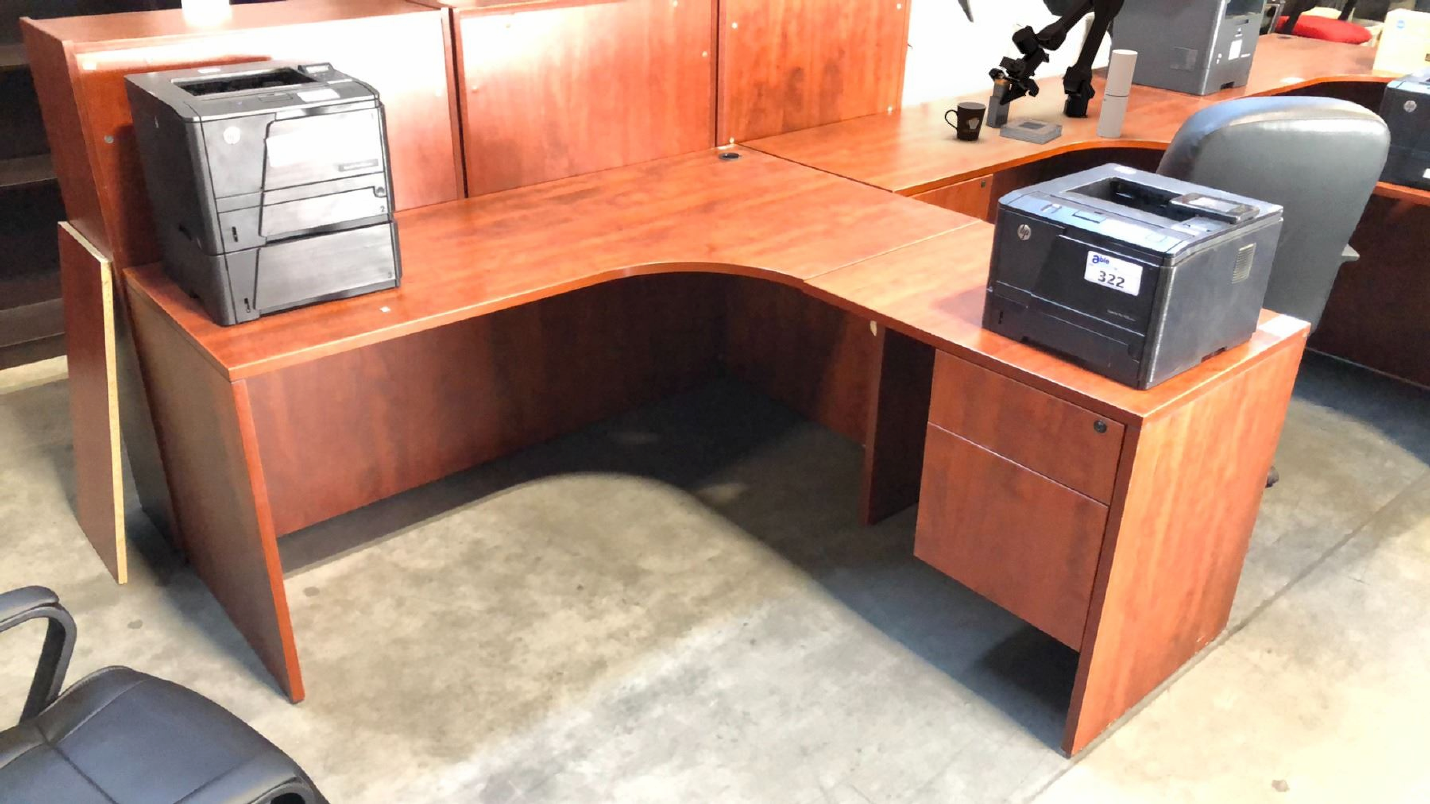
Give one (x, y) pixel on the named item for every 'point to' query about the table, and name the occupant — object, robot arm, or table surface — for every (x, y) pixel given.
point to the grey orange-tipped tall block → (998, 104)
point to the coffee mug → (968, 120)
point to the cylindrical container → (1116, 93)
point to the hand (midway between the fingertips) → (996, 103)
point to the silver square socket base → (1031, 130)
